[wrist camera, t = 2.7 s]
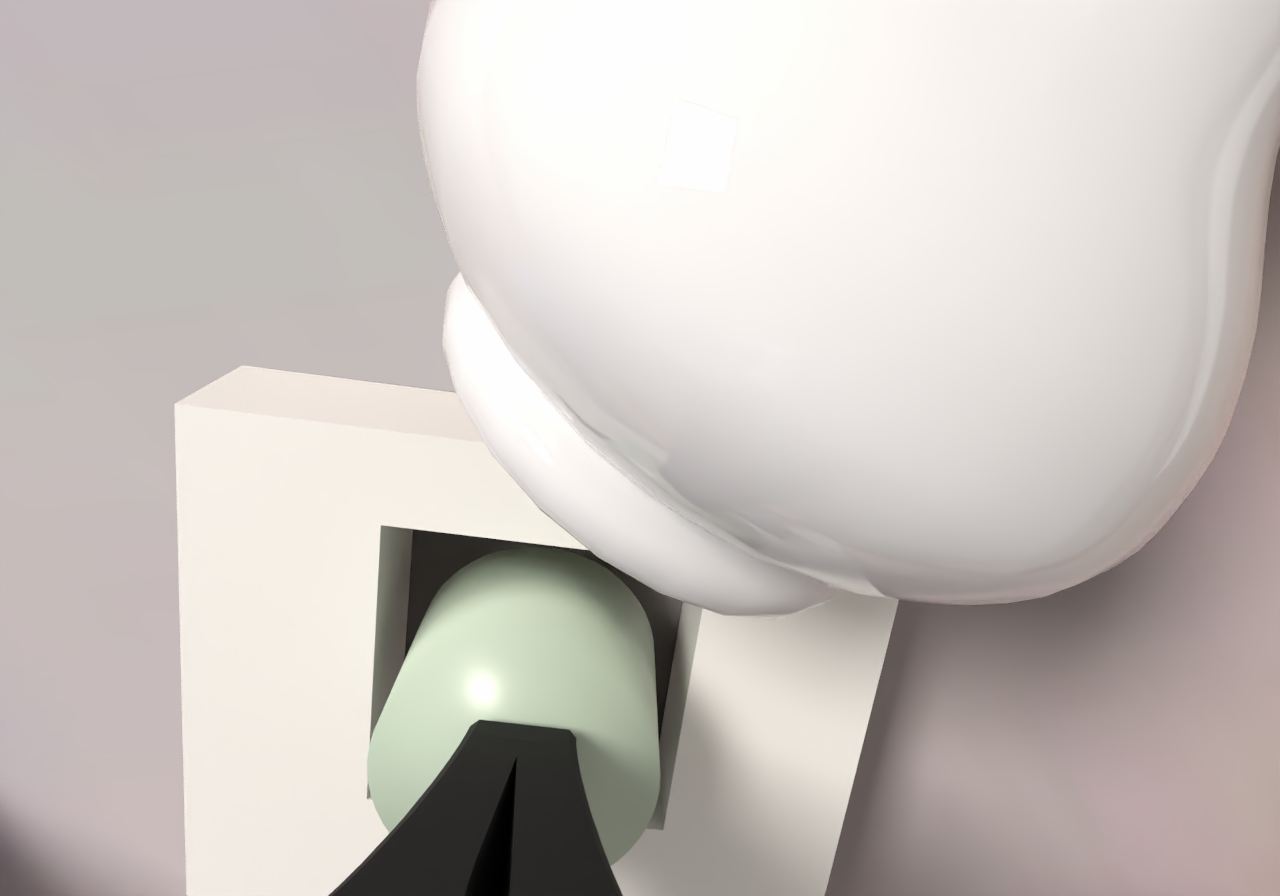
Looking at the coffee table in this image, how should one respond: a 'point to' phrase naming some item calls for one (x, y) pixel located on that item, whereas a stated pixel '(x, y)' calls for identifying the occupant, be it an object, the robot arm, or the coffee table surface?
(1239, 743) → the coffee table surface
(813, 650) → the panel
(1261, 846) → the coffee table surface
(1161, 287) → the flower vase
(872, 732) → the coffee table surface
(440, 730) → the sage button
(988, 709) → the coffee table surface
